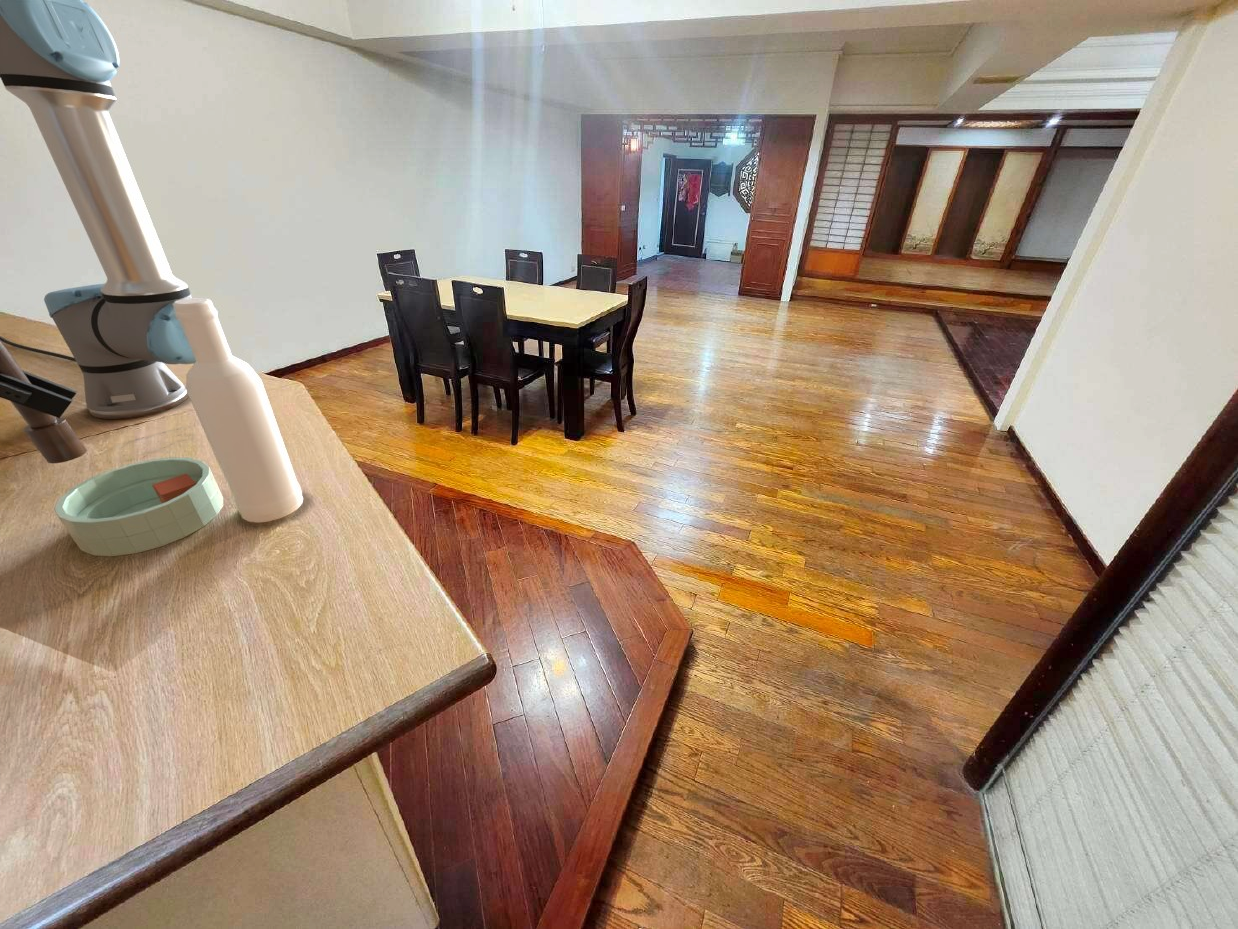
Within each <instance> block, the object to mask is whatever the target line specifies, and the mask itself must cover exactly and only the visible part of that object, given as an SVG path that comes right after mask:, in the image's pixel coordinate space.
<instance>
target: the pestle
mask: <svg viewBox="0 0 1238 929" xmlns="http://www.w3.org/2000/svg"><path fill="white" fill-rule="evenodd" d="M22 370H23V369H21V367H20V365H18V362H17V361H16V360H15V359H14V357H13V356H12V354H11V353H10V351H9V350H8V349H7V347H6V346H5V345H4V342H3V341H1V340H0V373H3V374H6V375H9V376H11V377H14V378H17V379H19V380H22V381H25V382H27V383H30V384H31V382H30V381H29V380H28V378H27V377H26V375H25V374H24V373H23V371H22ZM10 403H11V404H12V405H13V407H14V408H15V409H16V410H17V412H18V413H19V415H20V416H21V417H22V419H23V420H24V421H25V423H26V424H27V425H26V426H24V427H23V429H22V430H23V432H24V433H25V434H26V436H27V437H28V438H29V440H30V441H31V442H32V443H33V445H34V447H35V448H36V449H37V450H38V451H39V453H40V454H41V455H42V456H43V458H44V460H45V461H46V462H47V463H48V464H62V463H67V462H70V461H73V460H76V459H78V458H80V457H83V455H85V454H86V453H87V452H88V449H87V448H86V447H85V445H84V443H83V442H82V441H81V439H80V438H79V436H78V435H77V434H76V432H75V431H74V429H73V428H72V426H71V425H70V424H69V422H68V421H67V419H66V418H64V417H62V416H61V417H60V418H57V417H55V416H52V415H49V414H46V413H43V412H41V411H38V410H35V409H32V408H29V407H26V406H24V405H21V404H18V403H15V402H12V401H10Z"/></svg>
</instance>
